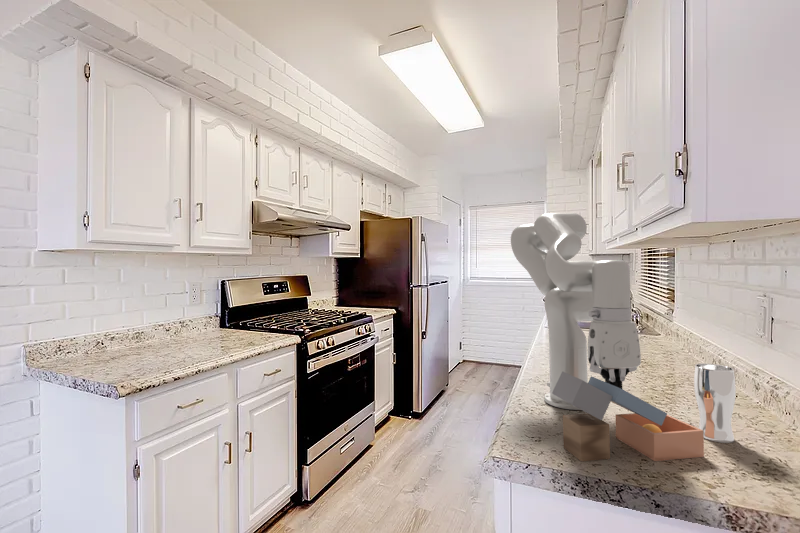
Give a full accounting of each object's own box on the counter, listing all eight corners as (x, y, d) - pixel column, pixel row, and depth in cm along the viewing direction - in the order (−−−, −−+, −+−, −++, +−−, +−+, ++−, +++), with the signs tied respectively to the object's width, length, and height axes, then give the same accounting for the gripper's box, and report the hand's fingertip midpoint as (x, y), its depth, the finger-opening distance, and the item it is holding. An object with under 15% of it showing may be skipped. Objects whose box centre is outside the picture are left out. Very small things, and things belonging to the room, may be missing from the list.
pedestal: (581, 461, 75) (580, 426, 75) (563, 447, 80) (562, 415, 81) (610, 458, 75) (609, 424, 76) (590, 445, 81) (589, 413, 81)
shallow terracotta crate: (615, 437, 85) (615, 414, 85) (660, 434, 86) (659, 411, 86) (654, 461, 74) (654, 434, 74) (703, 456, 76) (703, 430, 76)
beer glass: (696, 428, 89) (694, 361, 90) (736, 435, 85) (734, 366, 85) (694, 438, 84) (692, 367, 84) (737, 447, 80) (735, 372, 80)
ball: (652, 420, 82) (652, 440, 82) (635, 420, 82) (635, 440, 82) (668, 428, 78) (667, 448, 78) (650, 428, 78) (649, 448, 78)
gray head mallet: (574, 406, 73) (590, 372, 73) (535, 383, 88) (548, 355, 88) (656, 449, 75) (671, 415, 76) (604, 420, 90) (617, 392, 91)
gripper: (591, 318, 83) (593, 405, 83) (654, 316, 86) (657, 401, 85) (571, 314, 91) (573, 395, 90) (629, 313, 93) (632, 391, 92)
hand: (614, 398), depth 88 cm, fingers closed
